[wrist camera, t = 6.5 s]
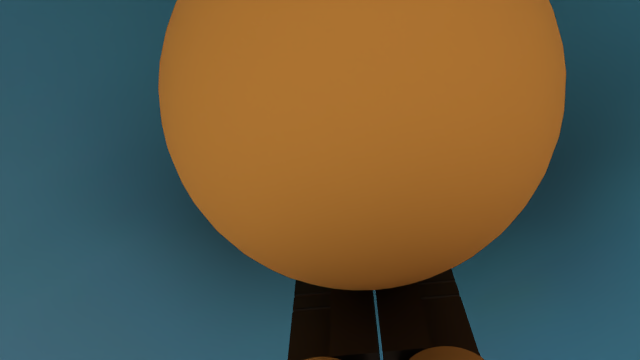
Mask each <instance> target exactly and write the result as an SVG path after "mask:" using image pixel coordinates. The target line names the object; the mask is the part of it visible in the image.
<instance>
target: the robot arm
mask: <svg viewBox="0 0 640 360" xmlns="http://www.w3.org/2000/svg"><path fill="white" fill-rule="evenodd" d="M294 295H295V298H294V304H293V314H292V323H291V333H290V343H289V353H288V360H380V354H379V344H378V334H377V325H376V315H375V306H374V297H373V290H342V289H333V288H327V287H322V286H317V285H313V284H309V283H306V282H302V281H299V280H296V284H295V294H294ZM376 297H377V307H378V316H379V325H380V334H381V343H382V351H383V360H484V359H483V358H482V357H481V356H480V354H479V352H478V349H477V346H476V343H475V340H474V337H473V334H472V331H471V327H470V324H469V321H468V318H467V315H466V312H465V309H464V306H463V303H462V300H461V297H460V296H459V291H458V288H457V285H456V282H455V279H454V276H453V273H452V270H451V269H449V270H447V271H444V272H442V273H440V274H438V275H435V276H433V277H431V278H428V279H425V280H422V281H419V282H416V283H412V284H409V285H404V286H399V287H394V288H387V289H378V290H376Z"/></svg>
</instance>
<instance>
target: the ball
mask: <svg viewBox="0 0 640 360" xmlns="http://www.w3.org/2000/svg"><path fill="white" fill-rule="evenodd" d="M565 85H566V68H565V59H564V50H563V44H562V40H561V37H560V33H559V29H558V26H557V22H556V18H555V15H554V11H553V8H552V6H551V4H550V2H549V0H177V2H176V4H175V7H174V10H173V12H172V15H171V18H170V21H169V24H168V26H167V30H166V34H165V39H164V44H163V49H162V54H161V59H160V67H159V86H158V90H159V101H160V112H161V121H162V127H163V131H164V135H165V139H166V143H167V147H168V150H169V153H170V155H171V158H172V160H173V163H174V165H175V168H176V170H177V172H178V175H179V177H180V179H181V181H182V183H183V185H184V187H185V188H186V190H187V192H188V193H189V195H190V197H191V198H192V200H193V202H194V203H195V205H196V206H197V207H198V208H199V210H200V211H201V212H202V213H203V215H204V216H205V217H206V218H207V219H208V221H209V222H210V223H211V224H212V225H213V227H214V228H215V229H216V230H217V231H218V232H219V233H220V234H221V235H223V236H224V237H225V238H226V239H227V240H228V241H230V242H231V243H232V244H233V245H234V246H236V247H237V248H238V249H239V250H240V251H242V252H243V253H244V254H245V255H247V256H249V257H250V258H252V259H254V260H255V261H257V262H259V263H260V264H262V265H264V266H266V267H268V268H269V269H271V270H273V271H275V272H277V273H280V274H282V275H284V276H287V277H289V278H292V279H295V280H299V281H302V282H306V283H309V284H313V285H317V286H322V287H327V288H333V289H342V290H378V289H387V288H394V287H399V286H404V285H409V284H412V283H416V282H419V281H422V280H425V279H428V278H431V277H433V276H435V275H438V274H440V273H442V272H444V271H447V270H449V269H451V268H453V267H455V266H457V265H459V264H461V263H462V262H464V261H466V260H468V259H469V258H471V257H473V256H474V255H475V254H476V253H478V252H479V251H480V250H482V249H483V248H484V247H486V246H487V245H488V244H489V243H491V242H492V241H493V240H494V239H496V238H497V237H498V236H499V235H500V234H501V233H502V232H503V231H504V230H505V229H506V228H507V227H508V226H509V225H510V224H511V223H512V222H513V220H514V219H515V218H516V217H517V216H518V215H519V213H520V212H521V211H522V210H523V209H524V207H525V206H526V204H527V203H528V201H529V200H530V198H531V197H532V195H533V194H534V192H535V190H536V189H537V187H538V185H539V183H540V182H541V180H542V178H543V177H544V175H545V173H546V170H547V168H548V165H549V162H550V159H551V157H552V154H553V151H554V149H555V146H556V143H557V141H558V138H559V134H560V129H561V124H562V119H563V114H564V105H565Z"/></svg>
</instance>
